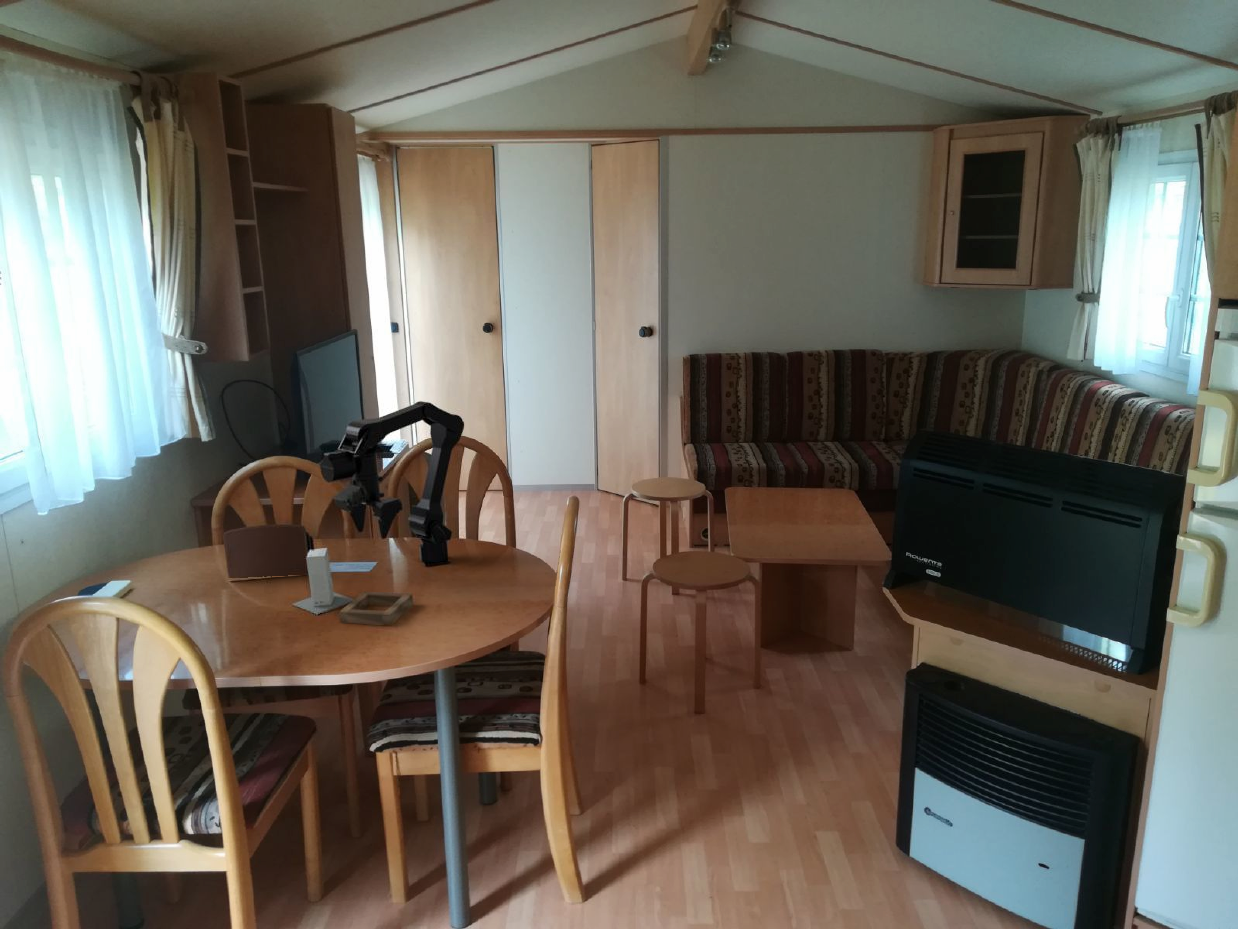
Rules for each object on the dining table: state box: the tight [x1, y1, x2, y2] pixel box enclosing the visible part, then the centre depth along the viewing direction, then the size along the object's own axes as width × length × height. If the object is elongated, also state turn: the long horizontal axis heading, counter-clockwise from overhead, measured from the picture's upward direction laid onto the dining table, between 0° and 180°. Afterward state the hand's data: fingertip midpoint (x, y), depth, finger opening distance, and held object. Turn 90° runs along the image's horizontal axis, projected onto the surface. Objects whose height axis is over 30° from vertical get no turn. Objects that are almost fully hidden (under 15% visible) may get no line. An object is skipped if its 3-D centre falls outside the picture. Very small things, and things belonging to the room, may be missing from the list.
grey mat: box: [291, 592, 355, 616], centre depth 213 cm, size 10×10×1 cm
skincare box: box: [306, 547, 335, 606], centre depth 212 cm, size 6×4×12 cm
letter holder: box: [222, 523, 315, 578], centre depth 233 cm, size 10×20×14 cm, turn 100°
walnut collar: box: [338, 591, 414, 626], centre depth 206 cm, size 12×12×2 cm
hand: (372, 535), depth 223 cm, fingers open, 9 cm apart
